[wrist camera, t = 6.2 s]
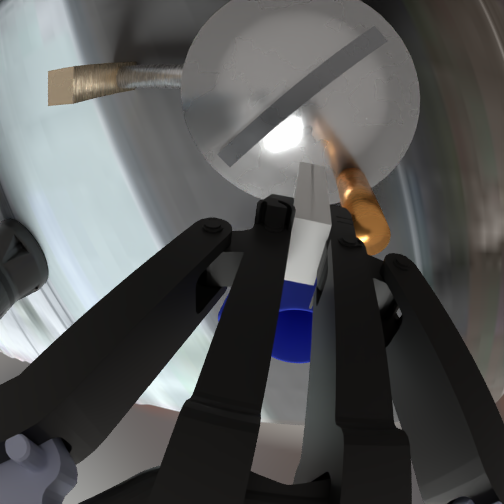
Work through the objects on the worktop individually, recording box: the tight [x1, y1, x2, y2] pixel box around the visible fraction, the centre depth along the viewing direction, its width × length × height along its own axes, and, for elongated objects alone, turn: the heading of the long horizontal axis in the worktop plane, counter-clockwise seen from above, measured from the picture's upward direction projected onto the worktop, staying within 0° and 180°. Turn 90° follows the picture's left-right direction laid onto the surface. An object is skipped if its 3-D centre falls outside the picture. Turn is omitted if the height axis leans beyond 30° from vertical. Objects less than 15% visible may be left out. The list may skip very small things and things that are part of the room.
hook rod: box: [48, 62, 184, 106], centre depth 21 cm, size 25×3×10 cm, turn 83°
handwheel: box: [181, 0, 420, 255], centre depth 14 cm, size 15×15×8 cm
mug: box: [218, 277, 317, 363], centre depth 32 cm, size 8×12×10 cm
